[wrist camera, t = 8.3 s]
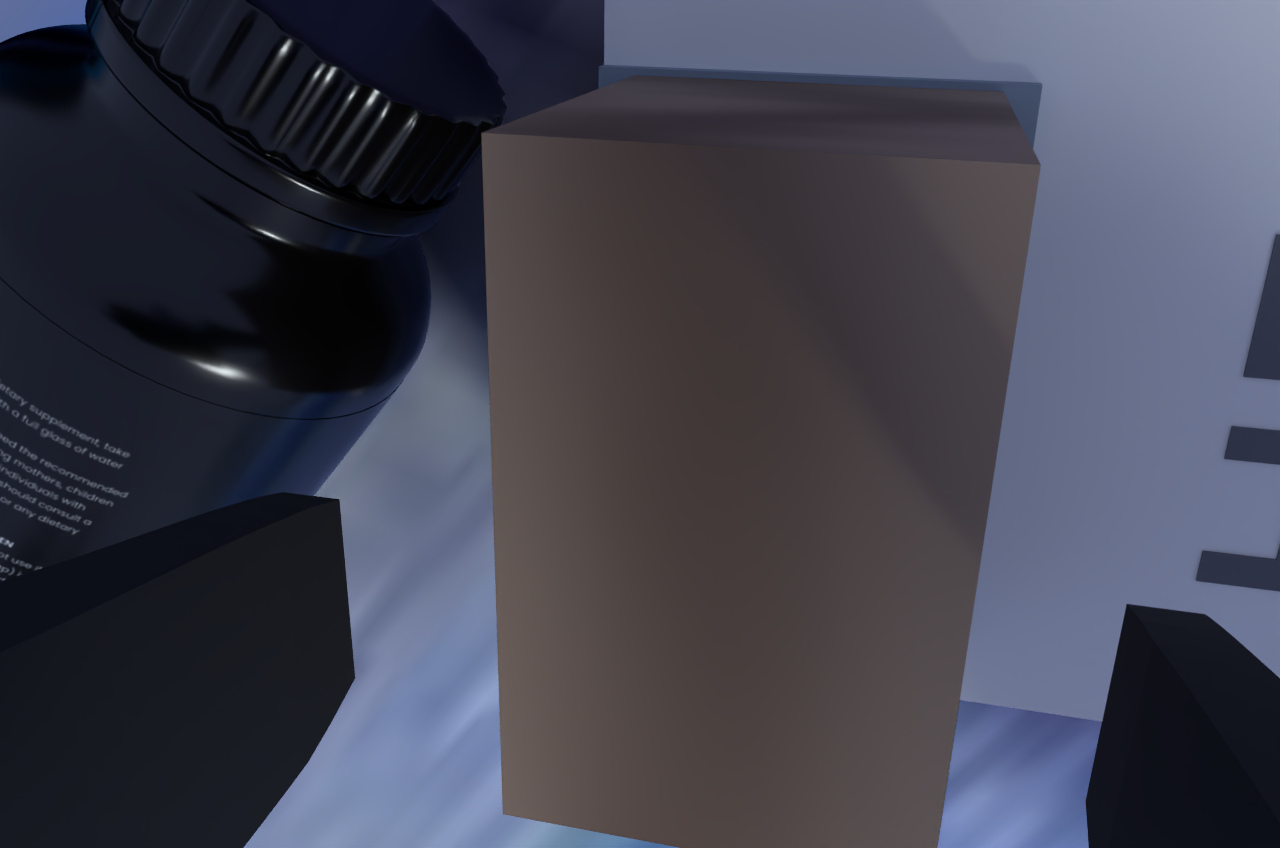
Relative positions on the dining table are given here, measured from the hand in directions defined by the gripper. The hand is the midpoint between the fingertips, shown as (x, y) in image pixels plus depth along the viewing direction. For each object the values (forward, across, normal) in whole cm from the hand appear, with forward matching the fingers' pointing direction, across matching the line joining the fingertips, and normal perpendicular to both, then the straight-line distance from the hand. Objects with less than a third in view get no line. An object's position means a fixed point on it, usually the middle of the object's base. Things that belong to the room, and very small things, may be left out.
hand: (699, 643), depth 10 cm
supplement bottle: (+5, +13, +4) cm, 15 cm away
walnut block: (+8, 0, 0) cm, 8 cm away
